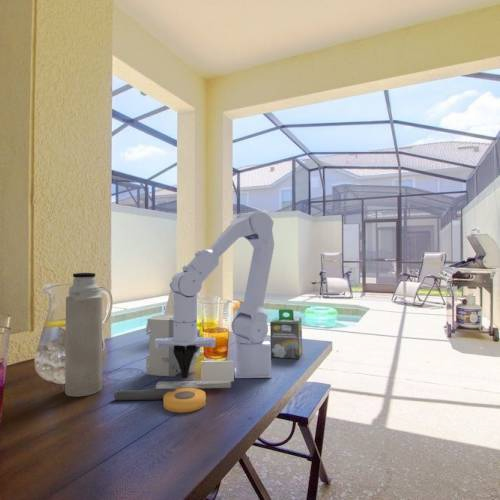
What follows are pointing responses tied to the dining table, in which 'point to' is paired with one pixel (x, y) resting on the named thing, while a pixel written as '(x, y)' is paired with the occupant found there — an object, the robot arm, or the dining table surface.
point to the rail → (192, 384)
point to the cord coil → (184, 400)
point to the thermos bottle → (83, 337)
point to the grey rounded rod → (141, 394)
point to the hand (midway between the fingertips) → (185, 376)
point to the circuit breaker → (163, 357)
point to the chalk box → (286, 335)
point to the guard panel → (217, 371)
